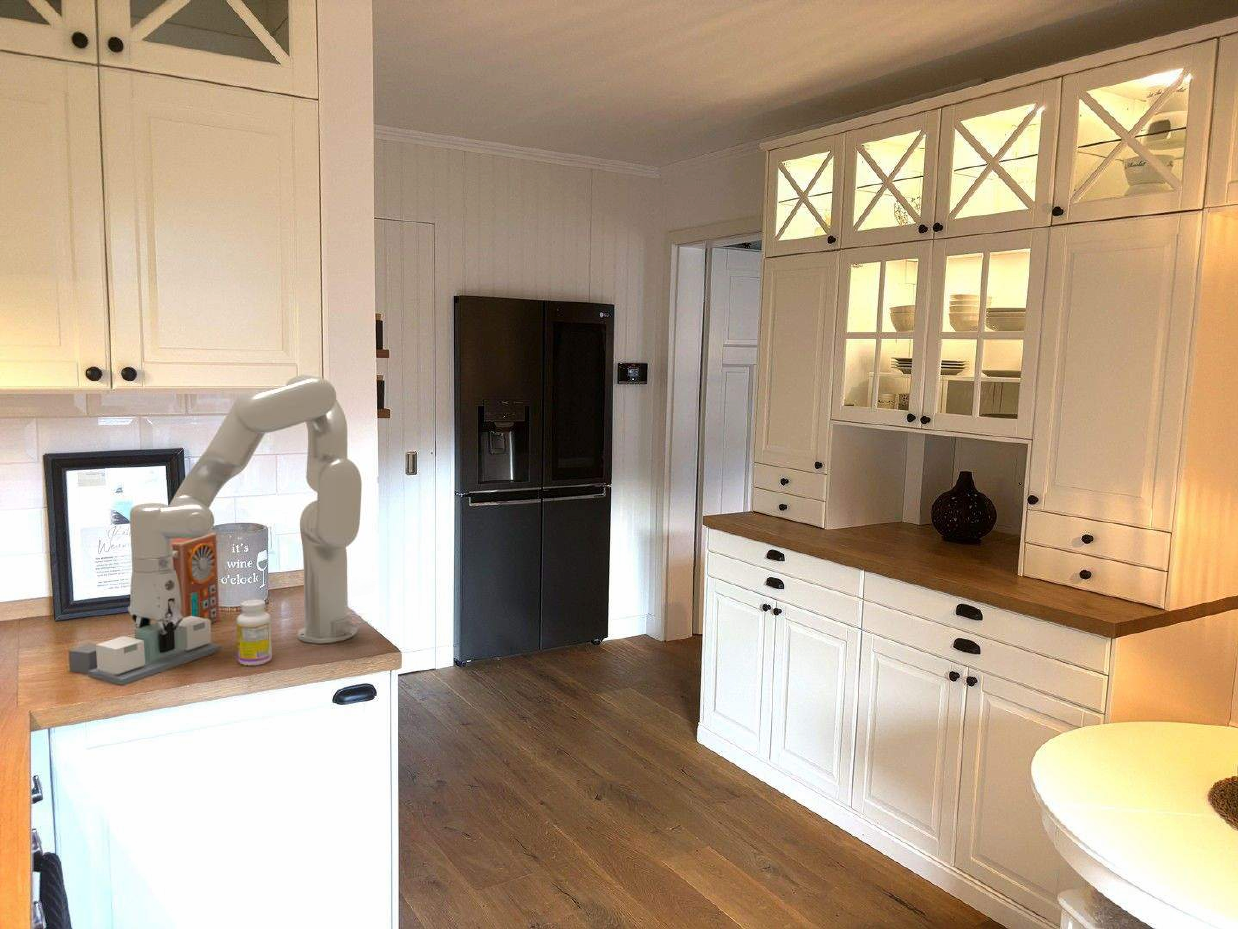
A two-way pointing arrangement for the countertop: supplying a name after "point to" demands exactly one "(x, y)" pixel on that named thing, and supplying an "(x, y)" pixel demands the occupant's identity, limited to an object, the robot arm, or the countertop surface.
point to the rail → (153, 660)
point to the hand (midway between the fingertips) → (156, 647)
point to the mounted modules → (131, 651)
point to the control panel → (197, 576)
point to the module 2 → (153, 641)
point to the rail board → (155, 666)
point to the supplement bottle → (254, 633)
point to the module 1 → (83, 658)
